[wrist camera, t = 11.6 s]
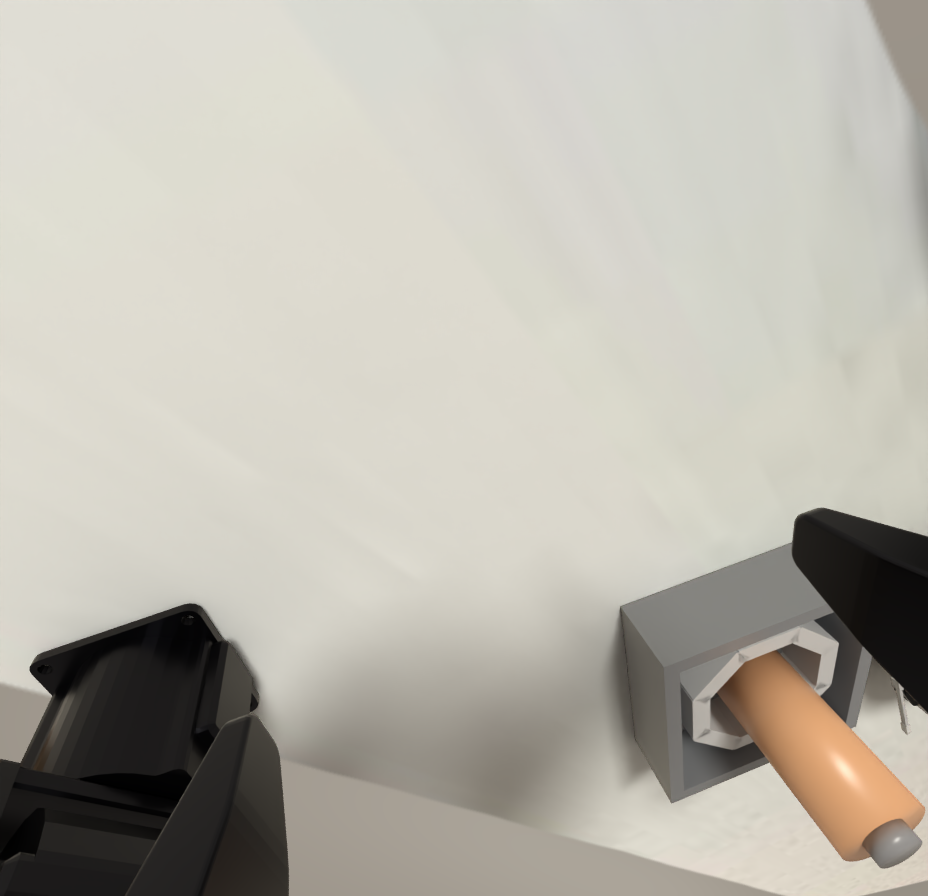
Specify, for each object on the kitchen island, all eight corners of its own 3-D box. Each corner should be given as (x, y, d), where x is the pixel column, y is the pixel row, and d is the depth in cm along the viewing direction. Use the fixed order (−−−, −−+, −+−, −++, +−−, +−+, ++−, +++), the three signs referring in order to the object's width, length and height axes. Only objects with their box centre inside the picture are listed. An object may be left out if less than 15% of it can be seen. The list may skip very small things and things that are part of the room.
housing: (635, 739, 34) (671, 803, 31) (620, 606, 29) (663, 667, 25) (803, 671, 36) (856, 726, 32) (823, 531, 30) (890, 579, 26)
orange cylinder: (702, 690, 32) (851, 893, 23) (701, 646, 30) (864, 851, 21) (763, 665, 32) (932, 856, 24) (766, 620, 30) (953, 811, 22)
